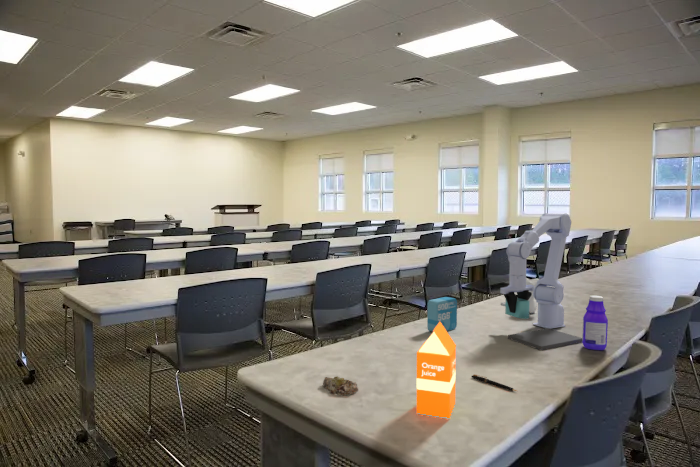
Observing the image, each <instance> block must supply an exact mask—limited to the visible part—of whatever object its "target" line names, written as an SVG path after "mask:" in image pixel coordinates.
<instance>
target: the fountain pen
mask: <svg viewBox="0 0 700 467" xmlns="http://www.w3.org/2000/svg"><path fill="white" fill-rule="evenodd" d="M471 378H472V379H474V380H475V381H479V382H480V383H484V384H486V385H487V384H488V385H491V386H494V387H497V388H500V389H504V390H506V391H511V392H513V391H514V392H518V390H517V389H514V388H513V387H511V386H508V385H505V384H502V383H500V382H497V381H494V380H491V379H489V378H487V377H486V376H483V375H478V374H473V375H471Z"/></svg>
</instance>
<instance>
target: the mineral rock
mask: <svg viewBox="0 0 700 467" xmlns="http://www.w3.org/2000/svg"><path fill="white" fill-rule="evenodd" d="M322 384H323V385H322V386H323V388H324V389H325V388H326V389H325V390H327V391H330V392H329V393H330V394H331V395H334V394H337V395H336V396H342V395H343V396H345V395H346V396H349V395H353V394H355V393H356V392H358V391H359V387H358V384H357V382H356V381H352V380H350V379H345V378H344V377H339V376H334V377H329V376H326V377H324V379H323V382H322Z"/></svg>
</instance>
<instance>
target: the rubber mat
mask: <svg viewBox="0 0 700 467" xmlns="http://www.w3.org/2000/svg"><path fill="white" fill-rule="evenodd" d="M507 339H509V340H511V341H514V342H517V343H520V344H522V345H523V344H524V345H526V346H529V347H532V348H535V349H537V350H540V351H543V350H548V349H554V348H559V347H564V346H570V345H574V343H575V344H579V342H580V343H582V337H580V336H576V335H572V334H569V333H567V332H566V333H565V332H563V331H559V330H556V329H554V328H552V329H549V328H541V329H535V330H530V331H524V332H523V331H522V332H518V333H513V334H508V335H507Z"/></svg>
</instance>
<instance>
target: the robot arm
mask: <svg viewBox="0 0 700 467" xmlns="http://www.w3.org/2000/svg"><path fill="white" fill-rule="evenodd" d="M538 220H539V222H538V223H537V224H536V225H535V226H534V227H533V229H531V230H525V231H524V233H523V234H522V235H521V236H519V238H517V240H515V241H511V242H510V243H509V244H508V245H507V248H506V250H505V251H506V255H507V259H508V260H507V261H508V262H509V282H508V283H509V284H508V285H507V286H504V287H500V292H499V293H500V294H502V295H503V296H504V299H505V301H506V300H507V303H508V306H509V310H510V312H512V313H515V311H516V303H517V299H518V298H520V299H524V300H529V298H530V297H531V295H532V293H531V292H529V291H533V296H534V299H535V300H536V302H537V322H533V323H532V325H534V326H537V327H540V328H542V329H546V328H549V329H556V328H563V327H564V328H565V327H566V324H564V322H565V320H564V319H565V309H564V306H563V305H562V304H561V303H562V302H563V300H564V290H565V289H564V287H565V286H564V285H563V283H561V281H560V280H559V276H560V271H561V265H562V261H563V256H564V252H565V247H566V242H567V238H568V237H569V236H570V231H571V227H572V220H571V217H570V215H569V214H568V213H546V212H544V213H543V214H542V215H541V216H539V219H538ZM544 234H546V235H547V236H549V237H550V240H551V241H550V244H549V245H550V246H549V249H548V254H547V259H546V264H545V269H544V274H543V277H542V278H540V280H538V281H537V284H536V287H535V288H534V285H526V278H527V258H529V256H530V254H531V251H532V249H533V248H534V247H535V246H536V245H537V244H538V243H539V241H540V237H542V235H544Z"/></svg>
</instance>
